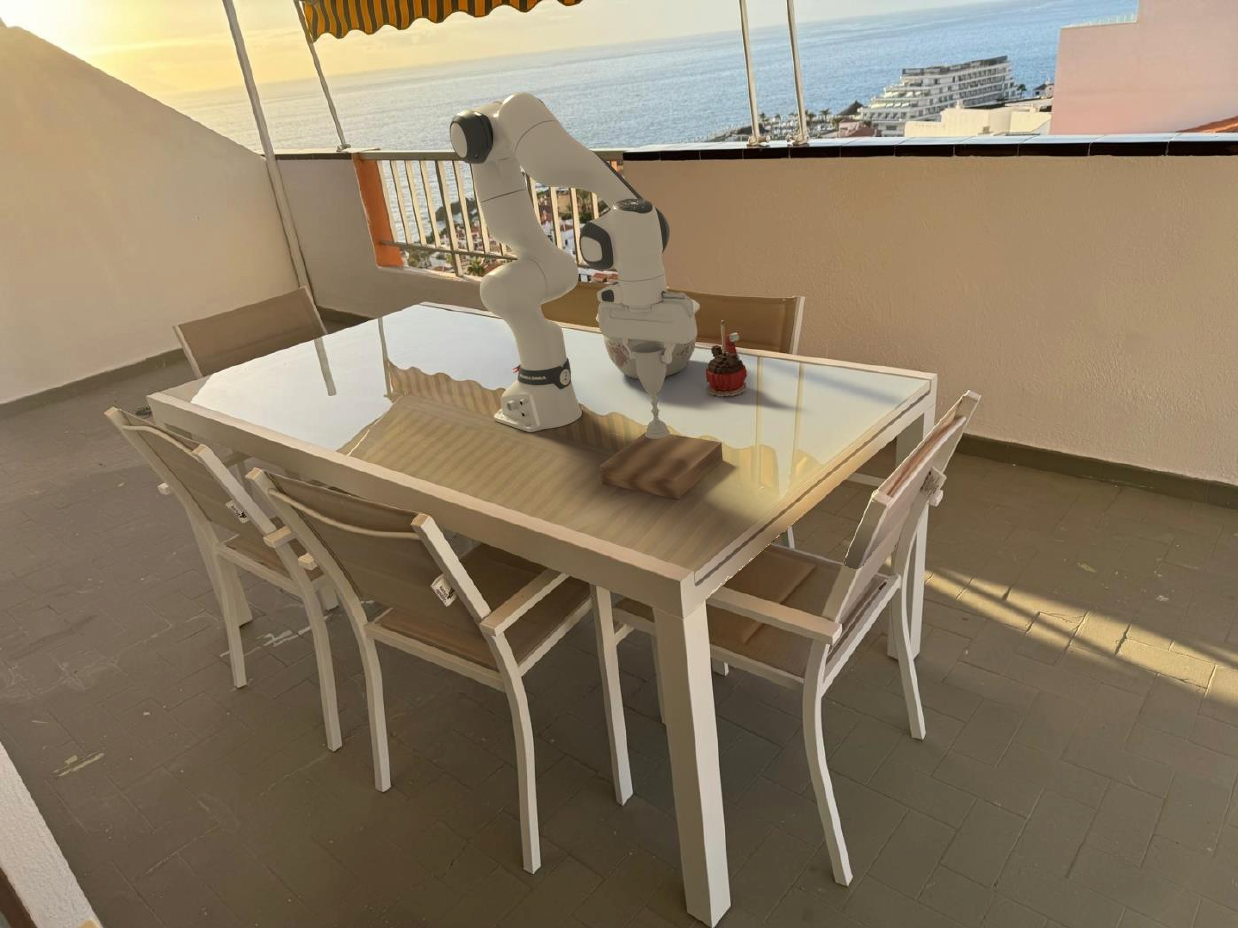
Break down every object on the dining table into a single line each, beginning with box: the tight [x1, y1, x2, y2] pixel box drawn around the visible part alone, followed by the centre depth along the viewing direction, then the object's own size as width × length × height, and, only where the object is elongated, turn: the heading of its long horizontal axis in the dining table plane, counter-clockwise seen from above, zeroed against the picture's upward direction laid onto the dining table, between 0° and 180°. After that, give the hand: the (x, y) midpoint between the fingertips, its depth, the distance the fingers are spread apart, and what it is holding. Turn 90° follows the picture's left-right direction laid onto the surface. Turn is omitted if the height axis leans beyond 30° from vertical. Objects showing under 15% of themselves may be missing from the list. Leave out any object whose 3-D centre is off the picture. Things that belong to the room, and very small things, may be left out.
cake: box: [705, 319, 748, 397], centre depth 204 cm, size 11×9×18 cm
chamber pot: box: [595, 297, 701, 379], centre depth 223 cm, size 28×28×21 cm
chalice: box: [632, 341, 671, 439], centre depth 165 cm, size 7×7×18 cm
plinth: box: [599, 431, 724, 500], centre depth 172 cm, size 18×18×4 cm
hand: (650, 360), depth 162 cm, fingers closed on chalice, 6 cm apart
